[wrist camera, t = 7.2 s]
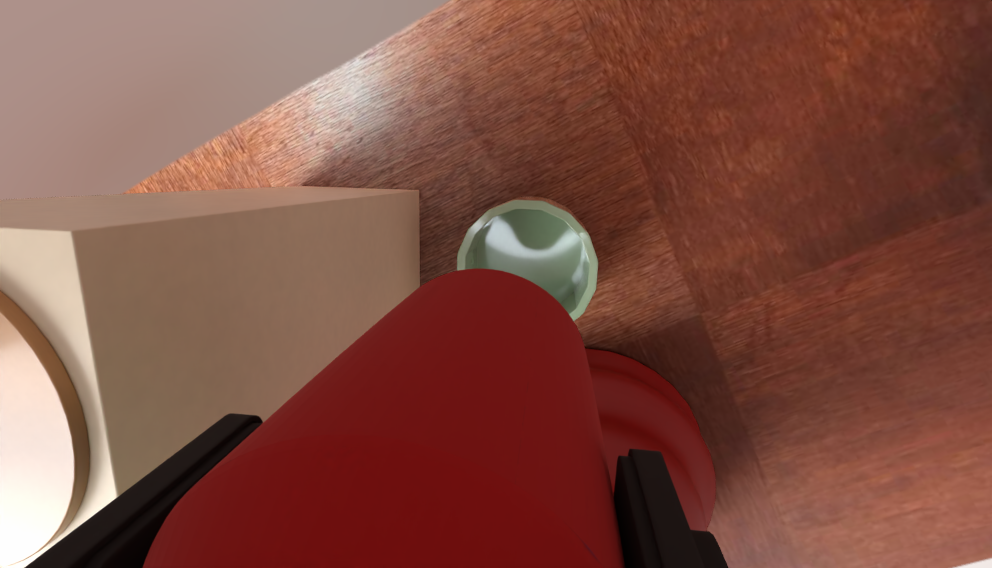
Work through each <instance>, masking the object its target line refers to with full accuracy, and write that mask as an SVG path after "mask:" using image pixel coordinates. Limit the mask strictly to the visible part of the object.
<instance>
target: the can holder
mask: <svg viewBox="0 0 992 568" xmlns="http://www.w3.org/2000/svg"><path fill="white" fill-rule="evenodd" d="M464 269H494V270H500V271H505V272H508V273H512V274H515V275H518V276H520V277H523V278H525V279H527V280H529V281H531V282H533V283H535V284H536V285H538V286H540V287H541V288H543V289H544V290H546V291H547V292H548V293H549V294H551V295H552V296H553V297H554V298H555V299H556V300H557V301H558V302H559V303H560V304H561V305H562V306H563V307H564V308H565V310H566V311H567V312H568V314H569V315H570V316H571V318H572V319H573V321H575V320H576V319H577V318H579V317H580V316H581V315H582V314H583V313H584V311H585V310H586V308H587V306H588V304H589V302H590V300H591V298H592V296H593V294H594V292H595V291H596V286H597V273H598V259H597V256H596V253H595V250H594V247H593V244H592V241H591V238H590V235H589V233H588V231H587V229H586V228H585V226H584V225H583V224H582V223H581V221H580V220H579V219H578V218H577V217H576V216H575V215H574V214H573V213H572V211H571V210H570V209H569V208H567V207H565V206H563V205H561V204H559V203H557V202H555V201H552V200H550V199H548V198H545V197H522V196H521V197H518V198H515V199H512V200H509V201H507V202H504V203H502V204H499V205H497V206H495V207H493V208H491V209H489V210H487V211H486V212H485V213H484V214H483V215H482V216H481V217H480V218H479V219H478V220H477V221H476V222H475V223H474V224H473V225H472V226H471V227H470V228H469V229H468V230H467V232H466V235H465V237H464V239H463V242H462V244H461V246H460V249H459V251H458V254H457V271H458V270H464Z"/></svg>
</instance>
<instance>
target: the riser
mask: <svg viewBox="0 0 992 568" xmlns="http://www.w3.org/2000/svg"><path fill="white" fill-rule="evenodd" d="M419 287H420V218H419V190H405V189H376V188H347V187H318V186H287V187H266V188H244V189H222V190H201V191H179V192H158V193H136V194H115V195H95V196H71V197H50V198H30V199H29V198H28V199H8V200H7V199H6V200H0V290H1V291H2V292H3V293H4V294H5V295H6V296H7V297H9V298H10V299H11V300H12V301H13V302H14V303H16V304H17V305H18V306H19V308H20V309H21V310H22V311H23V312H24V313H25V314H26V315H27V316H28V317H29V318H30V319H31V320H32V321H33V322H34V323H35V325H36V326H37V327H38V329H39V330H40V331H41V332H42V334H43V335H44V336H45V338H46V339H47V340H48V341H49V343H50V344H51V346H52V347H53V349H54V351H55V352H56V354H57V355H58V357H59V359H60V360H61V362H62V363H63V365H64V367H65V369H66V371H67V373H68V375H69V377H70V379H71V381H72V383H73V385H74V388H75V390H76V393H77V396H78V398H79V401H80V404H81V407H82V410H83V414H84V418H85V422H86V426H87V431H88V440H89V448H90V467H89V476H88V482H87V488H86V491H85V494H84V497H83V500H82V503H81V505H80V507H79V509H78V511H77V513H76V515H75V517H74V519H73V520H72V521H71V523H70V524H69V525H68V526H67V528H66V529H65V530H64V531H63V533H62V534H61V535H59V536H58V537H57V538H56V539H55V540H54V541H53V542H51V543H50V544H49V545H47V546H46V547H45V548H43V549H42V550H41V551H39V552H38V553H36V554H34V555H33V556H31V557H29V558H27V559H26V560H24V561H21V562H18V563H16V564H13V565H10V566H7V567H2V568H24V567H26V566H27V565H28V564H30V563H31V562H32V561H34V560H35V559H36V558H38V557H39V556H40V555H41V554H43V553H44V552H45V551H47V550H48V549H49V548H51V547H52V546H53V545H55V544H56V543H57V542H59V541H60V540H61V539H63V538H64V537H65V536H67V535H68V534H69V533H71V532H72V531H73V530H75V529H76V528H77V527H79V526H80V525H81V524H82V523H84V522H85V521H86V520H88V519H89V518H90V517H92V516H93V515H94V514H96V513H97V512H98V511H100V510H101V509H102V508H104V507H105V506H106V505H108V504H109V503H110V502H112V501H113V500H114V499H116V498H117V497H118V496H120V495H121V494H122V493H123V492H125V491H126V490H127V489H129V488H130V487H131V486H133V485H134V484H135V483H137V482H138V481H139V480H141V479H142V478H143V477H145V476H146V475H147V474H149V473H150V472H151V471H153V470H154V469H155V468H157V467H158V466H159V465H160V464H162V463H163V462H164V461H166V460H167V459H168V458H170V457H171V456H172V455H174V454H175V453H176V452H178V451H179V450H180V449H182V448H183V447H184V446H186V445H187V444H188V443H190V442H191V441H192V440H194V439H195V438H196V437H198V436H199V435H200V434H201V433H203V432H204V431H205V430H207V429H208V428H209V427H211V426H212V425H213V424H215V423H216V422H217V421H219V420H220V419H221V418H223V417H224V416H225V415H227V414H230V413H235V414H246V415H257V416H259V417H260V418H261V419H262V421H263V422H265V421H266V420H267V419H268V418H269V417H270V416H271V415H272V414H273V413H275V412H276V411H277V410H278V409H279V408H280V407H281V406H282V405H283V404H284V403H286V402H287V401H288V400H289V399H290V398H291V397H292V396H294V395H295V394H296V393H297V392H298V391H299V390H300V389H301V388H303V387H304V386H305V385H306V384H307V383H308V382H309V381H310V380H312V379H313V378H314V377H315V376H316V375H317V374H318V373H320V372H321V371H322V370H323V369H324V368H325V367H326V366H327V365H329V364H330V363H331V362H332V361H333V360H334V359H335V358H336V357H338V356H339V355H340V354H341V353H342V352H343V351H344V350H346V349H347V348H348V347H349V346H350V345H351V344H353V343H354V342H355V341H356V340H357V339H358V338H360V337H361V336H362V335H363V334H364V333H365V332H366V331H368V330H369V329H370V328H371V327H372V326H373V325H375V324H376V323H377V322H378V321H379V320H380V319H382V318H383V317H384V316H385V315H386V314H387V313H389V312H390V311H391V310H392V309H393V308H395V307H396V306H397V305H398V304H399V303H401V302H402V301H403V300H404V299H405V298H407V297H408V296H409V295H410V294H411V293H413V292H414V291H415V290H416V289H418V288H419Z"/></svg>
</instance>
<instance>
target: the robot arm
mask: <svg viewBox="0 0 992 568" xmlns="http://www.w3.org/2000/svg"><path fill="white" fill-rule="evenodd" d="M262 423H263V421H262V419H261V418H260V417H259V416H257V415H246V414H235V413H230V414H227V415H225V416H224V417H223V418H221V419H220V420H219V421H217V422H216V423H215V424H213V425H212V426H211V427H209V428H208V429H207V430H205V431H204V432H203V433H201V434H200V435H199V436H198V437H196V438H195V439H194V440H192V441H191V442H190V443H188V444H187V445H186V446H184V447H183V448H182V449H180V450H179V451H178V452H176V453H175V454H174V455H172V456H171V457H170V458H168V459H167V460H166V461H164V462H163V463H162V464H160V465H159V466H158V467H157V468H155V469H154V470H153V471H151V472H150V473H149V474H147V475H146V476H145V477H143V478H142V479H141V480H139V481H138V482H137V483H135V484H134V485H133V486H131V487H130V488H129V489H127V490H126V491H125V492H123V493H122V494H121V495H120V496H118V497H117V498H116V499H114V500H113V501H112V502H110V503H109V504H108V505H106V506H105V507H104V508H102V509H101V510H100V511H98V512H97V513H96V514H94V515H93V516H92V517H90V518H89V519H88V520H86V521H85V522H84V523H82V524H81V525H80V526H79V527H77V528H76V529H75V530H73V531H72V532H71V533H69V534H68V535H67V536H65V537H64V538H63V539H61V540H60V541H59V542H57V543H56V544H55V545H53V546H52V547H51V548H49V549H48V550H47V551H45V552H44V553H43V554H41V555H40V556H39V557H38V558H36V559H35V560H34V561H32V562H31V563H30V564H28V565H27V566H26V567H24V568H143V565H144V562H145V559H146V557H147V554H148V552H149V550H150V547H151V545H152V543H153V541H154V539H155V537H156V535H157V533H158V532H159V530H160V528H161V526H162V525H163V523H164V521H165V519H166V517H167V516H168V515H169V513H170V512H171V511H172V509H173V508H174V506H175V505H176V504H177V502H178V501H179V500H180V499H181V498H182V497H183V496H184V495H185V494H186V493H187V492H188V491H189V489H191V488H192V487H193V486H194V485H195V484H196V483H197V482H198V481H199V480H200V479H202V478H203V477H204V476H205V475H206V474H207V473H208V472H209V471H210V470H212V469H213V468H214V467H215V466H216V465H217V464H218V463H219V462H220V461H221V460H223V459H224V458H225V457H226V456H227V455H228V454H229V453H230V452H231V451H233V450H234V449H235V448H236V447H237V446H238V445H239V444H240V443H241V442H242V441H244V440H245V439H246V438H247V437H248V436H249V435H250V434H251V433H252V432H254V431H255V430H256V429H257V428H258V427H259V426H260V425H261V424H262ZM614 503H615V509H616V514H617V520H618V526H619V532H620V538H621V544H622V550H623V556H624V562H625V568H728V566H727V563H726V561H725V559H724V557H723V554H722V552H721V550H720V547H719V545H718V543H717V541H716V539H715V537H714V536H713V534H711V533H710V532H707V531H698V530H690V527H689V524H688V522H687V519H686V516H685V514H684V511H683V508H682V506H681V503H680V500H679V498H678V495H677V492H676V490H675V487H674V484H673V482H672V479H671V477H670V474H669V471H668V469H667V466H666V463H665V461H664V458H663V455H662V453H661V452H660V451H653V450H641V449H629V452H628V456H620V455H619V456H618V459H617V467H616V477H615V487H614Z"/></svg>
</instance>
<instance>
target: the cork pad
mask: <svg viewBox="0 0 992 568" xmlns="http://www.w3.org/2000/svg"><path fill="white" fill-rule="evenodd" d="M89 467H90V448H89V440H88V431H87V426H86V422H85V418H84V414H83V410H82V407H81V404H80V401H79V398H78V396H77V393H76V390H75V388H74V385H73V383H72V381H71V379H70V377H69V375H68V373H67V371H66V369H65V367H64V365H63V363H62V362H61V360H60V359H59V357H58V355H57V354H56V352H55V351H54V349H53V347H52V346H51V344H50V343H49V341H48V340H47V339H46V338H45V336H44V335H43V334H42V332H41V331H40V330H39V329H38V327H37V326H36V325H35V323H34V322H33V321H32V320H31V319H30V318H29V317H28V316H27V315H26V314H25V313H24V312H23V311H22V310H21V309H20V308H19V306H18V305H17V304H16V303H14V302H13V301H12V300H11V299H10V298H9V297H7V296H6V295H5V294H4V293H3V292H2V291H1V290H0V568H2V567H7V566H10V565H13V564H16V563H18V562H21V561H24V560H26V559H27V558H29V557H31V556H33V555H34V554H36V553H38V552H39V551H41V550H42V549H43V548H45V547H46V546H47V545H49V544H50V543H51V542H53V541H54V540H55V539H56V538H57V537H58V536H59V535H61V534H62V533H63V531H64V530H65V529H66V528H67V526H68V525H69V524H70V523H71V521H72V520H73V519H74V517H75V515H76V513H77V511H78V509H79V507H80V505H81V503H82V500H83V497H84V494H85V491H86V488H87V482H88V476H89Z"/></svg>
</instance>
